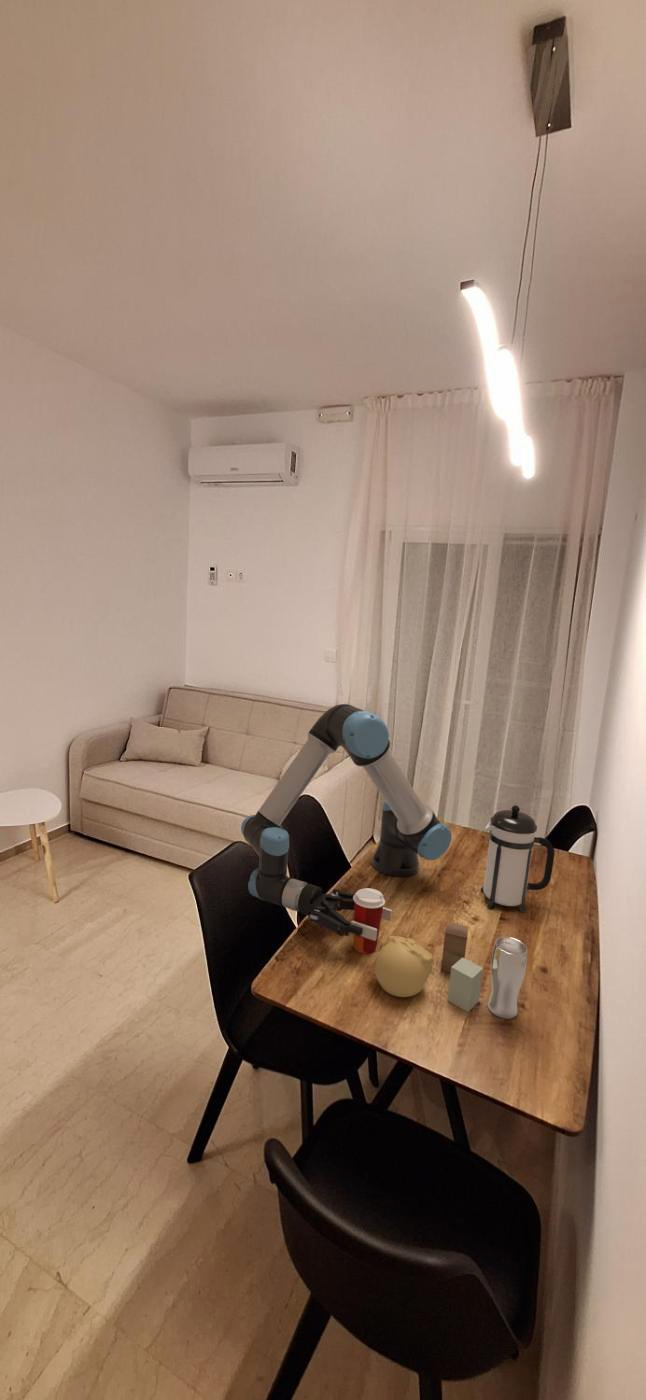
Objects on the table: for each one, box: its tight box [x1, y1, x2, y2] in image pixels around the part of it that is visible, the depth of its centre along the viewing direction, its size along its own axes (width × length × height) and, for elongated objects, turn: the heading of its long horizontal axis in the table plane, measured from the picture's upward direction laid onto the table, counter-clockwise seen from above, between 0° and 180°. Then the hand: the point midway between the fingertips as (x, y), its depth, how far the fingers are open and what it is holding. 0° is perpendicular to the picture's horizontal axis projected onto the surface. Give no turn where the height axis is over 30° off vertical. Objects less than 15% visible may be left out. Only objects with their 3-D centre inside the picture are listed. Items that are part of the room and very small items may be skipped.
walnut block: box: [440, 921, 469, 975], centre depth 133 cm, size 5×5×10 cm
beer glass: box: [487, 936, 528, 1020], centre depth 120 cm, size 7×7×15 cm
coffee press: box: [480, 805, 555, 914], centre depth 165 cm, size 17×16×30 cm
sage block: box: [446, 957, 484, 1013], centre depth 123 cm, size 5×5×8 cm
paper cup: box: [353, 887, 386, 955], centre depth 139 cm, size 8×8×14 cm
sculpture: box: [374, 935, 435, 998], centre depth 125 cm, size 11×12×11 cm
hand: (383, 924), depth 137 cm, fingers open, 9 cm apart
